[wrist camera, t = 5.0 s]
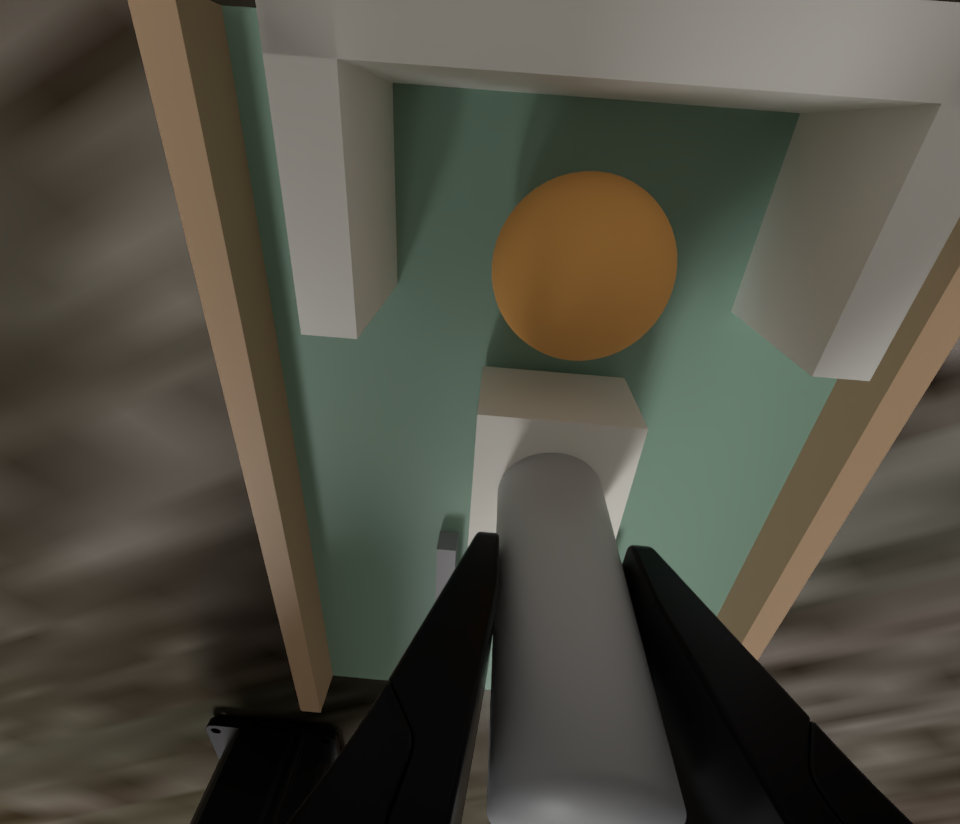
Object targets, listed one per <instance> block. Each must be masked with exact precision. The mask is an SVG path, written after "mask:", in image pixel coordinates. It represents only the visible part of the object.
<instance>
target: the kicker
mask: <svg viewBox="0 0 960 824" xmlns="http://www.w3.org/2000/svg"><path fill="white" fill-rule="evenodd" d="M647 432H648V427H647V425H646V423H645V421H644V419H643V417H642V414H641V412H640V410H639V408H638V406H637V404H636V402H635V399H634V397H633V395H632V393H631V391H630V389H629V387H628V384H627V382H626V380H625V378H620V377H608V376H596V375H584V374H571V373H559V372H547V371H535V370H523V369H511V368H499V367H487V366H483V370H482V378H481V387H480V395H479V404H478V413H477V425H476V439H475V453H474V467H473V481H472V494H471V508H470V522H469V536H468V547H469V545H470V543H471V542H472V540H473V538H474V537H475V535H476V534H477V533H478V532H492V533H497V534H498V535H499V588H498V596H497V604H496V612H495V620H494V628H493V642H492V672H491V701H490V730H489V760H488V789H487V817H488V820H489V821H490V823H491V824H685V822H686V817H687V815H686V809H685V805H684V801H683V797H682V793H681V790H680V786H679V782H678V778H677V774H676V770H675V766H674V763H673V759H672V755H671V751H670V747H669V743H668V739H667V736H666V732H665V728H664V724H663V720H662V716H661V713H660V709H659V705H658V701H657V697H656V693H655V689H654V686H653V682H652V678H651V674H650V670H649V666H648V663H647V659H646V655H645V651H644V647H643V643H642V639H641V636H640V632H639V628H638V624H637V620H636V616H635V613H634V609H633V605H632V601H631V597H630V593H629V589H628V586H627V582H626V578H625V574H624V570H623V566H622V562H621V559H620V555H619V551H618V547H617V543H616V537H617V533H618V530H619V527H620V523H621V520H622V516H623V513H624V510H625V506H626V503H627V500H628V496H629V493H630V489H631V486H632V483H633V479H634V476H635V472H636V469H637V466H638V462H639V459H640V456H641V452H642V449H643V445H644V442H645V439H646V435H647Z"/></svg>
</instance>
